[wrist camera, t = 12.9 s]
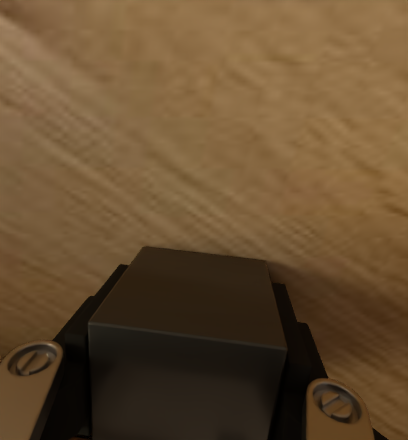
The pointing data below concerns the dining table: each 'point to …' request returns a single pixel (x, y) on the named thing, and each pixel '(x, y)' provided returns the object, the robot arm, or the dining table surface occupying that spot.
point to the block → (186, 350)
